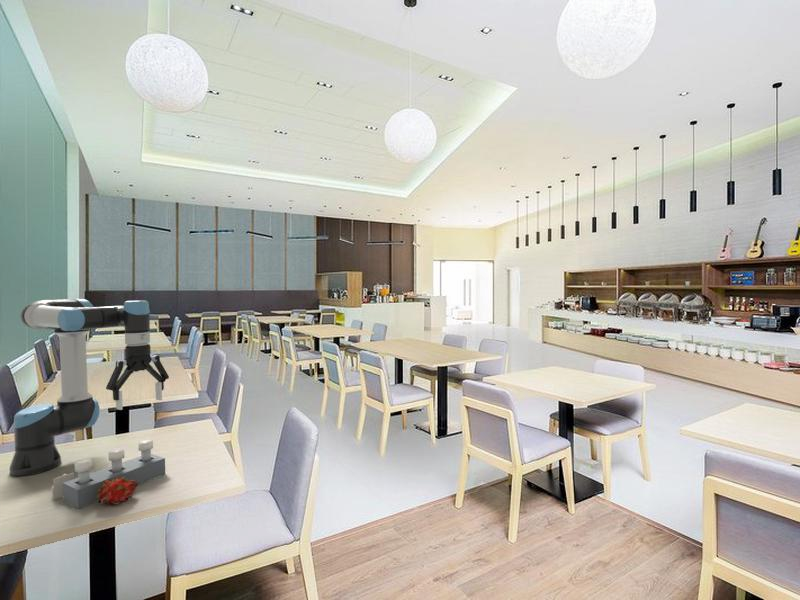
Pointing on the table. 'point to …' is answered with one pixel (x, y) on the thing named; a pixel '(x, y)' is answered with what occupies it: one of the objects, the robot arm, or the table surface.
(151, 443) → the knob far
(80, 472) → the knob near
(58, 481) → the architectural model
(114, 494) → the dragon fruit
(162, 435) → the table surface
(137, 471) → the mount
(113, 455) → the knob mid
